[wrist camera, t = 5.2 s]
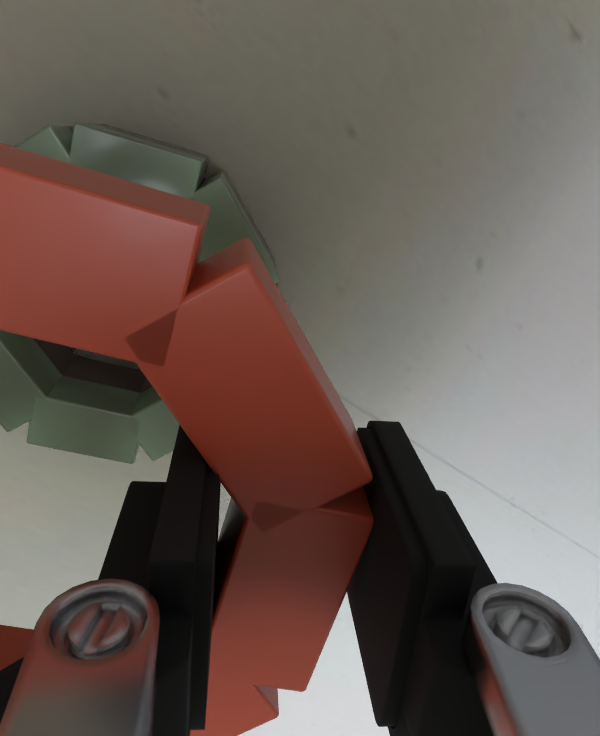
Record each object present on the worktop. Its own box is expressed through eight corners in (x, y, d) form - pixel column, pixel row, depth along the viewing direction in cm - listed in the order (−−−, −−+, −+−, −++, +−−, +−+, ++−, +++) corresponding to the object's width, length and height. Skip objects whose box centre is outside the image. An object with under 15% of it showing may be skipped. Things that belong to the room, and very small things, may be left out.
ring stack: (-4, 90, 20) (-60, 80, 16) (301, 185, 22) (314, 195, 18) (-34, 376, 23) (-85, 422, 20) (230, 433, 26) (228, 484, 22)
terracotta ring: (-352, 38, 7) (-549, 5, 6) (426, 269, 9) (470, 301, 8) (-300, 657, 11) (-409, 761, 9) (250, 726, 13) (251, 823, 11)
